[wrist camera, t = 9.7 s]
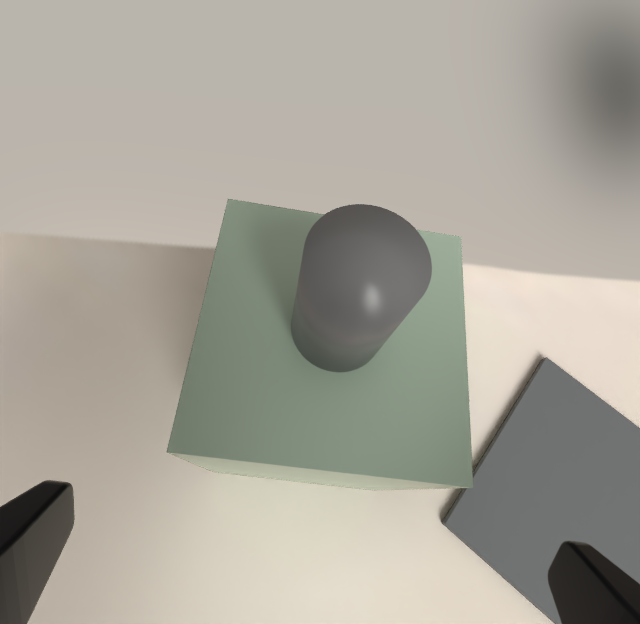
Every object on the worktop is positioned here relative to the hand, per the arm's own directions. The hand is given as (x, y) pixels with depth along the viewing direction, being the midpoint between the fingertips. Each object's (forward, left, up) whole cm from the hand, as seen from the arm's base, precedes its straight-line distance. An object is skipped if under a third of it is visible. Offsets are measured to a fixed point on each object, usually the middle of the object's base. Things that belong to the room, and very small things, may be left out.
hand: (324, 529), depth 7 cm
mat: (+9, -10, -11) cm, 17 cm away
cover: (+4, +3, -11) cm, 12 cm away
